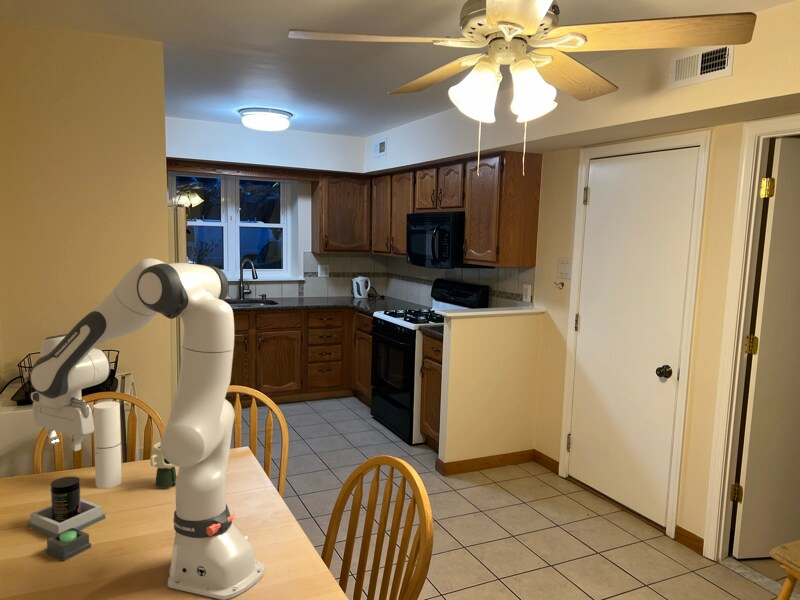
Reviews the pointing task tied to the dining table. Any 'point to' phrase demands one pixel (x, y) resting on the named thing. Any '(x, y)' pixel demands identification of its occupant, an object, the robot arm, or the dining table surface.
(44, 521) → the square shallow tray
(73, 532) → the button
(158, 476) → the character mug
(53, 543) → the button housing
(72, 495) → the supplement container
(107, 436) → the cylindrical container
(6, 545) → the dining table surface
